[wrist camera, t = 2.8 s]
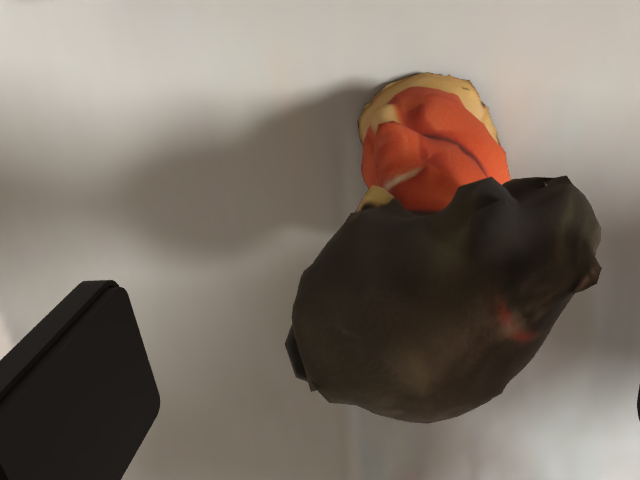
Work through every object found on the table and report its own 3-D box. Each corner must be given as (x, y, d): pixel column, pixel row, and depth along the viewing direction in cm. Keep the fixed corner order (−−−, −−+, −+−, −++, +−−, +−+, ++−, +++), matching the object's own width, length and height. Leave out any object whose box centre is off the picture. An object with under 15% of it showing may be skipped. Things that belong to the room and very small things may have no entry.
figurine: (393, 33, 19) (334, 131, 9) (547, 98, 19) (678, 276, 9) (328, 193, 22) (224, 411, 12) (461, 250, 22) (479, 519, 12)
